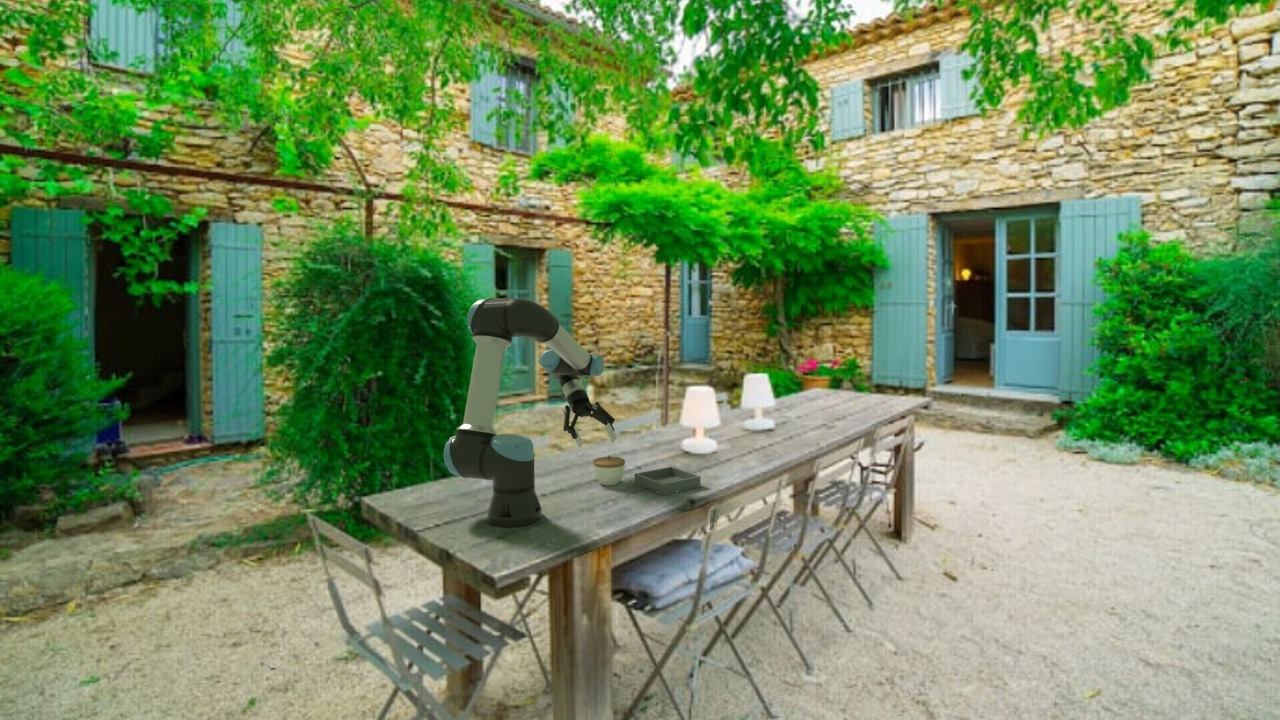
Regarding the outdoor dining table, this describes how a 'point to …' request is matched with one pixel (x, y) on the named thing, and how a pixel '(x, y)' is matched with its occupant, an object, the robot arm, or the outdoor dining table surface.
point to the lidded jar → (609, 469)
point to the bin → (667, 480)
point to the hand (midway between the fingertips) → (598, 442)
